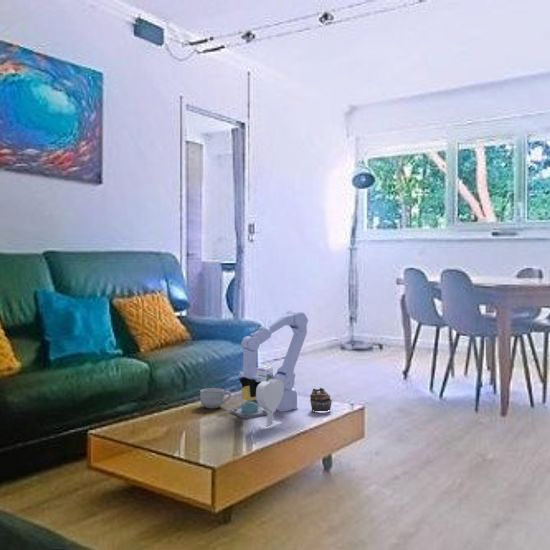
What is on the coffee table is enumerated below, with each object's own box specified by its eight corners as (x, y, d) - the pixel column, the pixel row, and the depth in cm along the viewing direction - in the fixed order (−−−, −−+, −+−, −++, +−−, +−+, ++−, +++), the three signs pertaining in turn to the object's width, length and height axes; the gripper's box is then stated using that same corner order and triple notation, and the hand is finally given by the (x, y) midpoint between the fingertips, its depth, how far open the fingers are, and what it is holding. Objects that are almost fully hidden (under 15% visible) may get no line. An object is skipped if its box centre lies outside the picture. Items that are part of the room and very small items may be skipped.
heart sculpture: (275, 419, 258) (275, 376, 257) (285, 421, 255) (285, 378, 255) (254, 428, 245) (254, 383, 244) (264, 430, 242) (265, 384, 241)
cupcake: (320, 415, 265) (320, 392, 265) (305, 410, 273) (305, 388, 273) (336, 411, 272) (336, 389, 271) (321, 407, 279) (321, 385, 279)
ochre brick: (251, 396, 270) (251, 384, 270) (257, 399, 266) (257, 387, 265) (241, 398, 267) (241, 386, 267) (247, 400, 263) (247, 388, 263)
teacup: (196, 409, 274) (196, 391, 274) (205, 403, 285) (205, 386, 284) (225, 411, 270) (225, 393, 270) (234, 405, 281) (234, 388, 280)
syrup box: (266, 398, 295) (266, 368, 294) (256, 396, 298) (256, 367, 298) (273, 396, 299) (273, 366, 299) (263, 394, 303) (263, 365, 302)
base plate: (254, 408, 275) (254, 398, 275) (268, 414, 265) (269, 403, 265) (230, 412, 268) (230, 401, 268) (245, 418, 258) (245, 407, 258)
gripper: (233, 362, 270) (233, 393, 270) (251, 367, 258) (250, 400, 258) (247, 361, 274) (246, 391, 274) (265, 366, 262) (264, 397, 262)
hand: (249, 395), depth 266 cm, fingers closed on ochre brick, 5 cm apart
